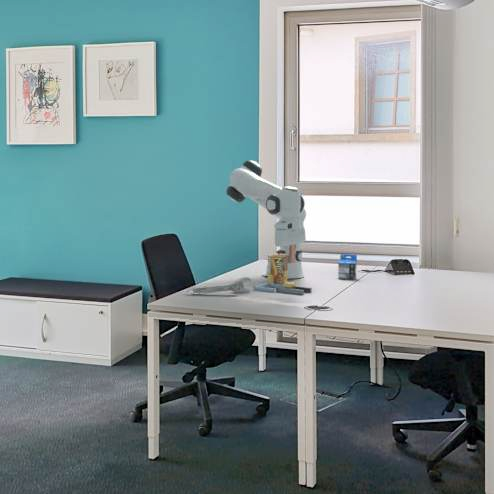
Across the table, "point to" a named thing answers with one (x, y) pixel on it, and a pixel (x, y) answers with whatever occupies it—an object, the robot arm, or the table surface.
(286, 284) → the chip
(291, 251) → the pinkish tan block
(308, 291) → the channel
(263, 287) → the tray
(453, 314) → the table surface
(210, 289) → the wrench
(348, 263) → the label tape cartridge
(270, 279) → the candy box
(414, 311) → the table surface
